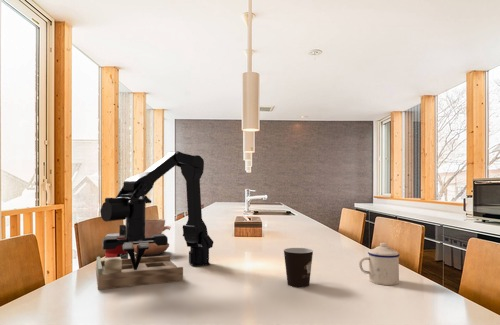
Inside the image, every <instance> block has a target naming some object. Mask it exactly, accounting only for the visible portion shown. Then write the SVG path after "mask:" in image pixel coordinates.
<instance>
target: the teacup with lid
mask: <svg viewBox="0 0 500 325" xmlns="http://www.w3.org/2000/svg"><path fill="white" fill-rule="evenodd" d="M387 245H388V244H387V243H386V242H380V243H379V246H376V247H375V248H372V249H369V250H368V252H367V254H368V256H363V257H361V259H359V261H358V267H359V269H360V271H361V272H362V273H363V274H366V275H368V280H369V281H370V283H373V284H375V285H382V286H396V285H398V284H399V283H400V268H399V267H400V266H399V265H400V263H399V262H400V261H399V260H400V259H399V257H400V252H398V251H397V250H396V249H395V250H394V249H393V248H391V247H390V246H387ZM364 261H368V270H364V268H363V265H362V264H363V262H364Z"/></svg>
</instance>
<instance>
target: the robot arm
mask: <svg viewBox="0 0 500 325" xmlns="http://www.w3.org/2000/svg"><path fill="white" fill-rule="evenodd" d="M174 167H178V168H180V170H181V171H180V172H181V174H182V176H183V178H184V179H185V182H186V183H185V185H186V188H185V189H186V199H187V200H186V204H187V222H186V224H183V225H182V231H183V232H182V237H183V239H184V241H185V243H186V247H190V250H189V251H188V263H189V264H190V265H191V266H192V267H201V266H210V265H211V263H210V249H212V248H213V246H214V240H213V239H212V238H211V236H209V234H208V228H207V224H206V223H205V221H204V220H203V216H202V215H203V213H202V199H201V198H202V196H201V194H202V193H201V178H202V176H203V174H204V168H205V161H204V158H203V157H202V156H200V155H198V154H196V155H192V154H188V153H184V152H181V151H177V150H176V151H169V152H168V153H166V155H165V156H163V157H162V158H161V159H159V160H158V161H156V162H155V163H153V164H152V165H151V166H150V167H149V168H147V169H146V170H145V171H142V172H141V173H137V174H134V175H133V176H130V177H128V178H126V179H125V180H124V181H123V183H122V184H123V185H122V187H121V189H120V190H119V192H118V193H117V195H116V197H105V198H104V202H103V203H102V205H101V208H100V217H101V219H102V221H104V222H114V221H125V224H119V225H118V226H119V230H118V233H119V236H125V239H117V237H106V236H105V237H104V238H102V250H104V251H105V250H106V249H115V248H116V247H117V246H119V245H122V248H123V250H124V251H127V252H128V257H129V258H130V259H131V262H132V265H133V268H134V270H137V268H138V265H139V263H140V260H141V258H143V256H144V255H143V254H144V252H145V250H146V249H149V247H148V244H149V243H156V244H157V245H158V246H160V245H168V243H169V242H168V239H169V238H168V236H167V235H165V234H164V233H162V234H153V235H152V237H146V238H145V220H146V204H152V199H150V198H149V197H148V196H147V195H148V193H149V192H150V191H151V190H152V189H153V187H154V184H155V183H156V182H157V181H158V180H159V179H160V178H161V177H163V176H164V175H165V174H167V172H169V171H170V170H172V169H173V168H174ZM131 241H132V242H131ZM133 244H138V245H137V253H135V252H134V248H133ZM135 254H136V255H135ZM135 258H136V261H135Z"/></svg>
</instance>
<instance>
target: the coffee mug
mask: <svg viewBox="0 0 500 325" xmlns="http://www.w3.org/2000/svg"><path fill="white" fill-rule="evenodd" d="M313 252H314V250H313V249H310V248H305V247H287V248H284V249H283V255H284V264H285V271H286V272H285V273H286V283H287V286H288V287H291V286H292V288H307V287H309V286H310V281H311V275H312V274H311V272H312V264H313V263H312V262H313Z"/></svg>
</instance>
